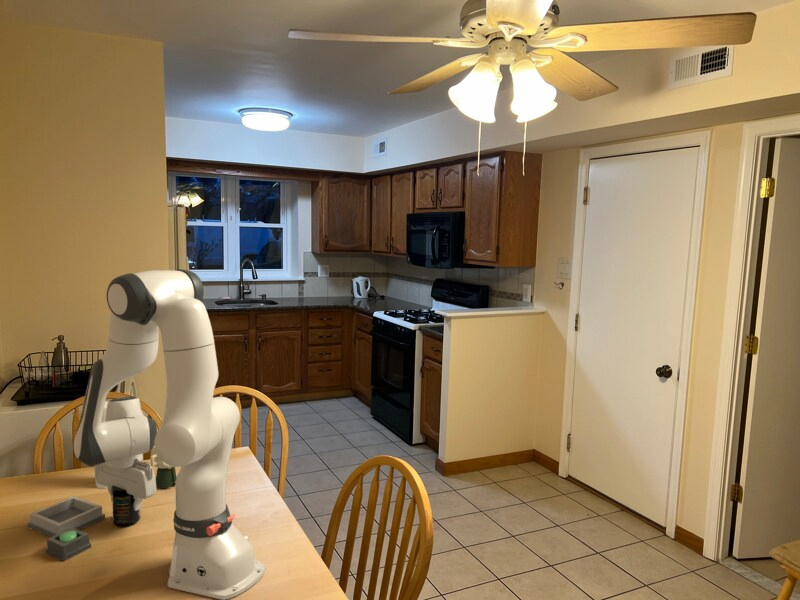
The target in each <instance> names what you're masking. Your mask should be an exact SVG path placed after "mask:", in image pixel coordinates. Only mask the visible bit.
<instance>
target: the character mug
mask: <svg viewBox="0 0 800 600" xmlns="http://www.w3.org/2000/svg"><path fill="white" fill-rule="evenodd" d="M152 449H153V450H152V452H153V454H152V455H151V456H150V466H151V467H154V468H157V469H156V474H155V480H156V487H159V488H160V489H166V488H167V489H168V488H172V487H173V483H174V486H176V478H177V472H176V467H174V466H170V465H168V464H166V463H164V462H163V461H162V460H161V459H160V458H159V456H158V454H157V452H156V449H155V445H154V447H153V448H152Z"/></svg>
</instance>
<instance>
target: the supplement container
mask: <svg viewBox="0 0 800 600" xmlns="http://www.w3.org/2000/svg"><path fill="white" fill-rule="evenodd" d="M134 501H135V499H134V495H131V494H128V493H127V491H126V490H125V489H122V488H119V487H116V486H113V485H112V502H111V504H112V522H113V525H114V526H115V527H119V528H127V527H132V526H134V525H136V524H137V523H138V522H139V521H140V519H141V508H140V509H139V510H137V511H136V510H133V509H132V503H134Z"/></svg>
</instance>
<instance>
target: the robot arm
mask: <svg viewBox="0 0 800 600" xmlns="http://www.w3.org/2000/svg"><path fill="white" fill-rule="evenodd" d="M204 293H205V292H204V285H203V282H202V280H201V278H200V276H198V275H197V273H195V272H194V271H191V270H187V269H182V268H181V269H179V268H178V269H175V270H174V269H172V270H171V269H165V270H164V269H162V270H158V269H152V270H144V271H139V272H135V273H131V272H130V273H125V274H121V275H119V276H116V277H114V278H113V279H112V280H111V281H110V282H109V285H108V287H107V290H106V302H107V306H108V308H109V310H110V318H109V324H108V343H107V347H106V350H105V352H104V353H103V355H102V356H101V357H100V359H97V360H96V361H95V362H93V365H92V367H91V369H90V374H89V377H88V381H87V386H86V390H85V394H84V400H83V405H82V410H81V414H80V420H79V423H78V426H77V430H76V433H75V437H74V440H73V441H74V442H73V451H74V455H75V458H76V460H78V461H79V462H80V463H83V464H84V465H86V466H89V467H94V479H95V482H96V481H97V483H99V484H102V485H105V486H107V487H108V488H107V491H108V493H109V495H110V499H111V500H110V501H111V503H112V485H113V486H116V487H119V488H122V489H125V490H126V491H127V493H128V494H131V495H134V499H135V501H134V503H132V509H133V510H136V511H137V510H139V509H140V510H141V508H142V502H143V500H146V499H149V498H151V497H153V496H154V495H155V494H156V492H157V486H156V474H155V471H154V468H153V466H151V464H150V462H148V461H144V454H146V453H149V452H151V451H152V449H153V447H154V445H155V449H156V452H157V454H158V456H159V458H160V459H161V460H162V461H163V462H164V463H166V464H168V465H170V466H174V467H175V468H180V469H179V471H178V473H177V474H176V477H177V478H176V485H175V510H174V513H173V521H172V522H173V529H174V532H175V533H174V534H175V536H174V540H173V545H172V546H173V547H172V555H171V562H170V565H169V568H168V574H169V577H168V579H167V587H168V588H170V589H174V590H177V591H183V592H186V593H191V594H195V595H201V596H204V597H209V598H214V599H217V600H229V599H232V598H234V597H236V596H239V595H241V594H243V593H244V592H246V591H247V590H249V589H251V587H253V586H254V585H255V584H256V583H257V582H258V581H260V579H262V577H263V576H264V575H265V573H266V565H265V564H264V563H263V562H261V560H258V559H257V558H256V555H255V549H254V546H253V545H252V543H251V542H250V541H249V537H248V535H245V534H244V535H243V534H242V533H241V531H240V530H239V529H238V528H237V527H236V526H235V525H234V524H233V520H234V519H236V517H235V516H236V514H235V513H233V514H231V513H230V510H229V507H228V504H227V474H228V466H229V461H230V457H231V453H232V447H233V441H234V438H235V437H234V436H235V433H236V432H237V428H238V426H239V424H240V421H241V420H240V419H241V414H240V409H239V407H238V405H237V404H236V403H235V402H234V401H233V400H232V399H230V398H228V397H225V396H216V397H214V392H215V388H216V386H217V385H216V384H217V382H218V380H219V367H218V359H217V352H216V345H215V344H216V343H215V339H214V338H215V337H214V332H213V328H212V323H211V320H210V318H209V314H208V311H207V308H206V306H205V304H204V303H203V299H204ZM159 330H160V333H159ZM159 335H161V344H162V345H161V347H162V353H163V360H164V369H165V376H166V378H165V379H166V397H165V402H164V403H165V404H164V405H165V406H164V411H163V417H162V421H161V425H160V427H159V430H158V428H157V423H156V421H155V420H154V419H152V418H151V417H149V416H147V415H145V414H144V413H143V410H142V406H141V400H140V398H139V397H137V396H130V395H129V396H121V397H115V398H112V399H110V400H109V401H107V402H108V404H107V409H106V419H105V422H101V419H102V415H103V410H104V405H105V402H106V398H107V396H108V394H109V392H111V391H112V390H113V388H115V386H118V385H119V384H121V383H123V382H124V381H127V380H129V379H130V378H133V377H135V376H138V375H140V374H141V373H143V372H144V371H146V370H147V369H149V368H150V367H151V366H152V365H153V363H154V362H155V361H156V359H157V357H158V352H159V338H160V337H159Z"/></svg>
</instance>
